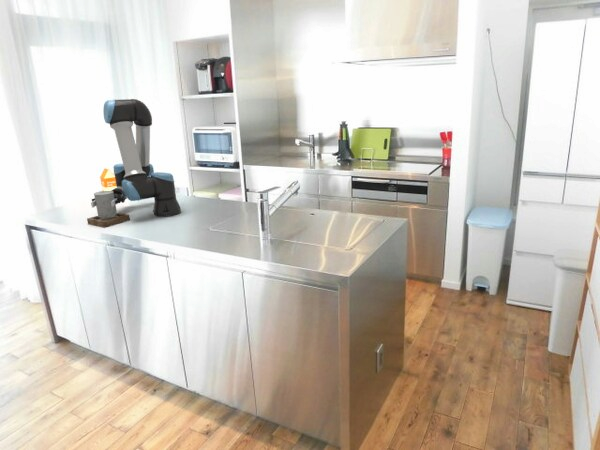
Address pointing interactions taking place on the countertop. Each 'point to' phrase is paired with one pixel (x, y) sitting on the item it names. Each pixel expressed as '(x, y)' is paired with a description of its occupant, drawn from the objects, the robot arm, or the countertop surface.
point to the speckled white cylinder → (105, 204)
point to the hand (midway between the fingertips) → (102, 204)
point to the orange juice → (108, 180)
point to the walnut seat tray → (108, 220)
